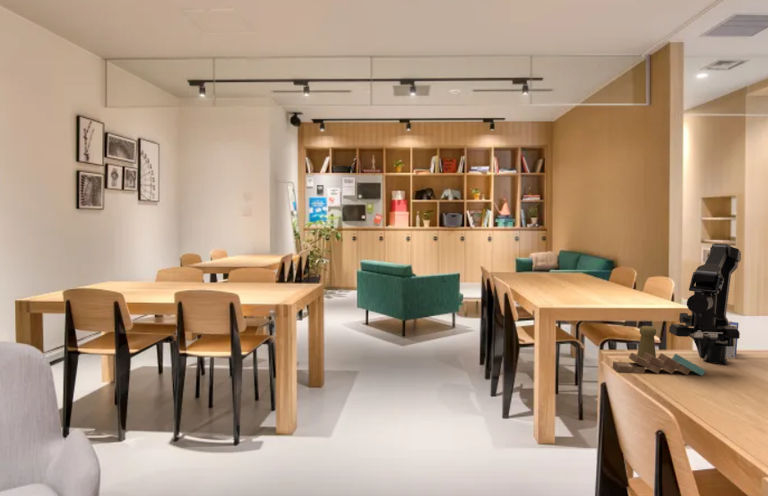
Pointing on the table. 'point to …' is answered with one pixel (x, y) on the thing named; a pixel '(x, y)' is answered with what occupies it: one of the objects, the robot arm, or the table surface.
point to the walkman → (733, 349)
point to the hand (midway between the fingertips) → (702, 358)
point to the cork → (647, 341)
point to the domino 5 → (688, 364)
